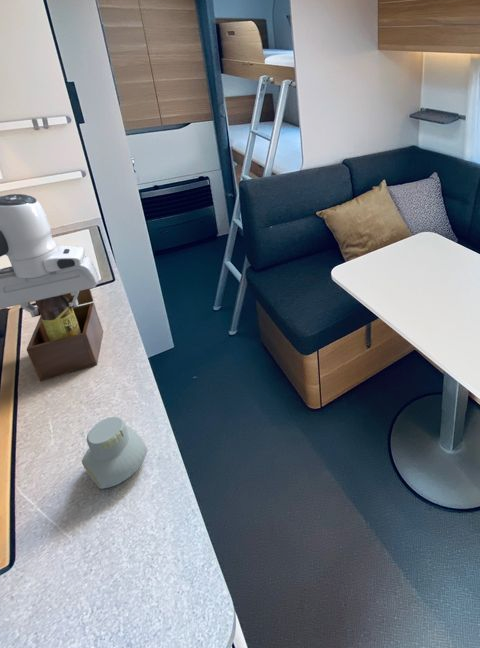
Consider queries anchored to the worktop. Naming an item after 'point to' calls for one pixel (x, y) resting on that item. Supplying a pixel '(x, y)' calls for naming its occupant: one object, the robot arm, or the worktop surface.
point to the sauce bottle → (58, 318)
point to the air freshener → (113, 452)
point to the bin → (67, 346)
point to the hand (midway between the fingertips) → (56, 310)
